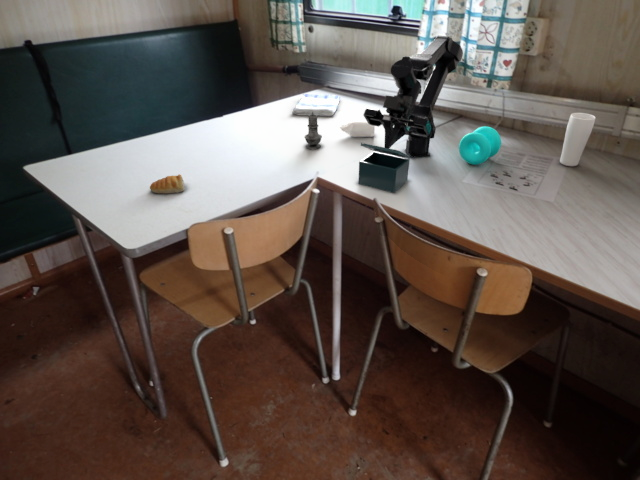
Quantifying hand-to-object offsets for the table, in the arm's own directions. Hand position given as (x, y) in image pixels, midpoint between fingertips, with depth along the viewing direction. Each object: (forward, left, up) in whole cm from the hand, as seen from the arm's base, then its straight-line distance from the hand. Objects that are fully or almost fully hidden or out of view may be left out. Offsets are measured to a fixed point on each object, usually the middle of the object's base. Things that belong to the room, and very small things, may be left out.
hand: (386, 148), depth 127 cm
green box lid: (0, 0, -1) cm, 1 cm away
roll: (-3, -38, -10) cm, 39 cm away
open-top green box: (0, 0, -10) cm, 10 cm away
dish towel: (+4, -75, -10) cm, 75 cm away
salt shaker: (+14, -32, -10) cm, 36 cm away
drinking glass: (-60, +1, -10) cm, 61 cm away
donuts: (-34, -8, -10) cm, 36 cm away
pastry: (+60, -10, -10) cm, 62 cm away
